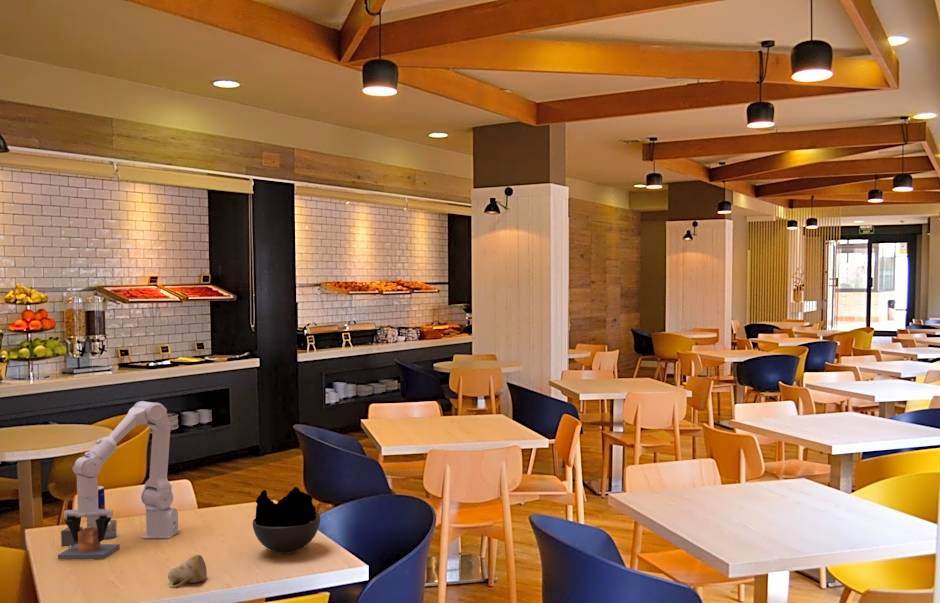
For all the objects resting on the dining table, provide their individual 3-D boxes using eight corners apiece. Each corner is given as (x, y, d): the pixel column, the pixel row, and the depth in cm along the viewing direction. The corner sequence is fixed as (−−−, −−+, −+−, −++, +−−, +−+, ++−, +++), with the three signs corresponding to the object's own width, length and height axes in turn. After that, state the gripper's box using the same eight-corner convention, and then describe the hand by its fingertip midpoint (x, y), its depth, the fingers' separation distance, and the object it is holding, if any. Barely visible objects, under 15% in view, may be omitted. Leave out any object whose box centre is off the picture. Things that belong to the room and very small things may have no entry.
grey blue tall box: (98, 535, 269) (97, 489, 269) (83, 534, 270) (82, 489, 270) (109, 530, 275) (107, 485, 274) (94, 529, 276) (93, 485, 276)
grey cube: (118, 534, 269) (118, 519, 269) (114, 538, 264) (114, 522, 265) (101, 535, 268) (101, 520, 268) (98, 539, 263) (98, 523, 264)
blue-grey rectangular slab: (119, 548, 254) (119, 544, 254) (103, 559, 244) (103, 554, 244) (76, 549, 254) (75, 544, 254) (58, 559, 244) (57, 554, 244)
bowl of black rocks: (334, 545, 252) (332, 484, 251) (294, 565, 234) (292, 500, 233) (281, 538, 260) (280, 479, 260) (239, 557, 242) (237, 494, 242)
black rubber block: (83, 542, 262) (82, 526, 262) (75, 546, 257) (74, 531, 257) (69, 542, 262) (68, 527, 262) (61, 546, 257) (61, 531, 257)
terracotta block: (100, 546, 251) (99, 527, 251) (93, 551, 247) (92, 531, 247) (86, 546, 251) (85, 527, 251) (78, 551, 247) (77, 531, 247)
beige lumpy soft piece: (168, 579, 225) (187, 545, 228) (199, 595, 225) (217, 561, 227) (158, 582, 218) (177, 547, 220) (190, 599, 217) (209, 563, 219)
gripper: (57, 500, 245) (58, 545, 245) (104, 499, 244) (105, 544, 244) (70, 494, 252) (71, 537, 252) (115, 493, 251) (117, 537, 252)
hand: (89, 540), depth 249 cm, fingers open, 7 cm apart
